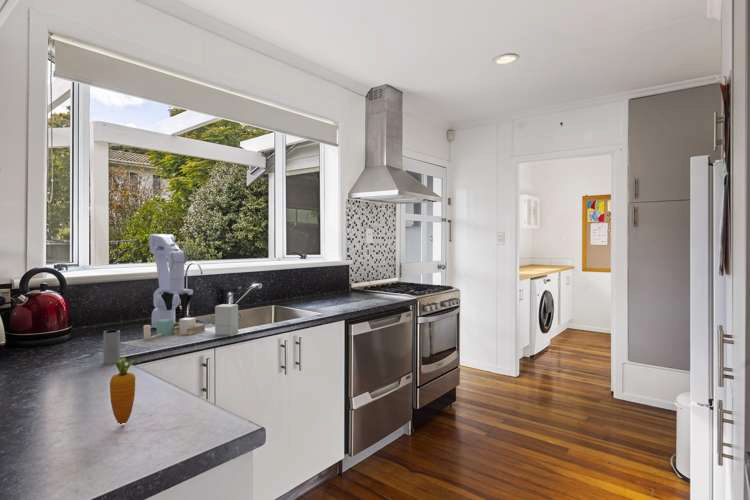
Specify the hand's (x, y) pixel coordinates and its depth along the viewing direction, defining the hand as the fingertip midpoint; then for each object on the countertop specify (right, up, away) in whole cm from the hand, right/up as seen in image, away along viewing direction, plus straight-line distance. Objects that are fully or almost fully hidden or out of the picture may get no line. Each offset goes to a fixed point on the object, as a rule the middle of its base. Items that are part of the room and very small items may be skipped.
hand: (176, 310), depth 180 cm
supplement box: (+21, -10, 0) cm, 24 cm away
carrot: (+31, -12, -89) cm, 95 cm away
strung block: (-4, -10, -8) cm, 13 cm away
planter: (-1, -11, -43) cm, 44 cm away
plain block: (+5, -9, -1) cm, 11 cm away
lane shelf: (+2, -10, +1) cm, 10 cm away
